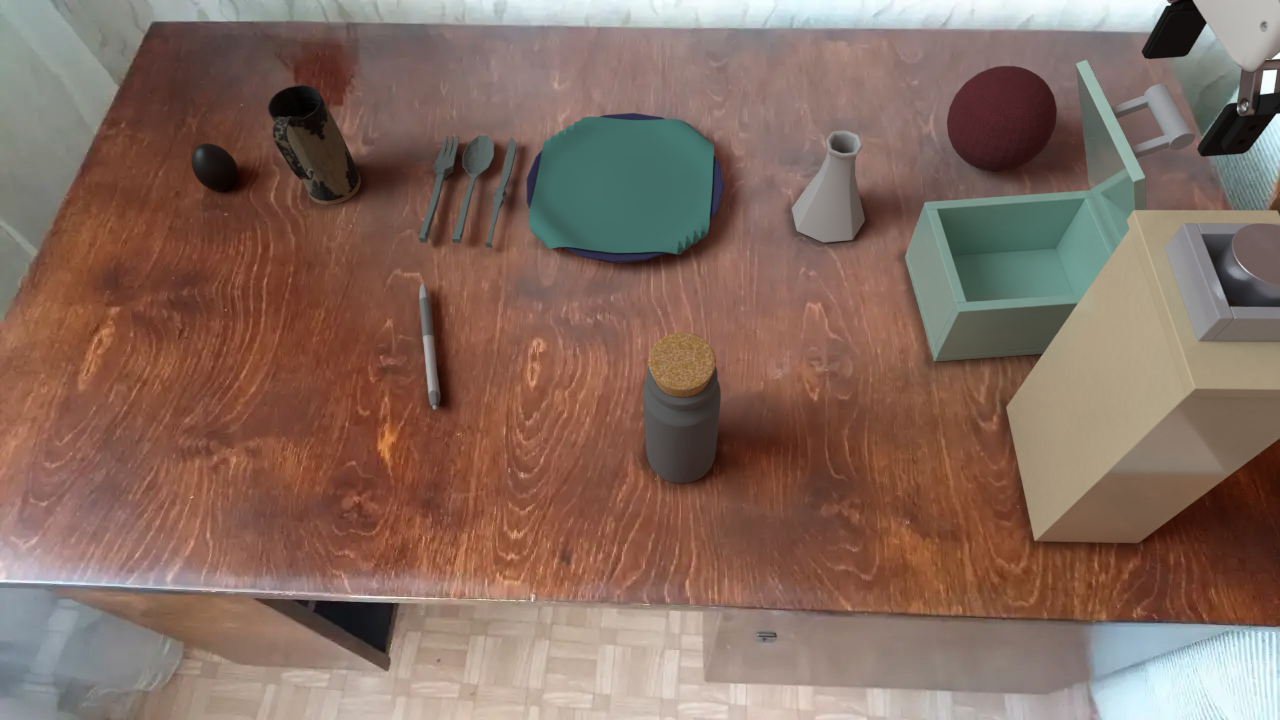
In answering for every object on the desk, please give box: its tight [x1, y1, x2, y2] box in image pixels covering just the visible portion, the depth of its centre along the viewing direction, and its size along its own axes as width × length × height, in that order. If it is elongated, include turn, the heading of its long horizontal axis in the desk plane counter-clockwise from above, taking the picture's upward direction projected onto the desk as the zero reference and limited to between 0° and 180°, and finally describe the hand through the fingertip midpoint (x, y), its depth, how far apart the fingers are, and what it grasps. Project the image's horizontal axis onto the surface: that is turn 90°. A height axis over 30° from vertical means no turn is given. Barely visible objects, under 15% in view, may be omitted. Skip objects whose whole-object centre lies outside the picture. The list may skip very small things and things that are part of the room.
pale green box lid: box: [1075, 59, 1196, 248], centre depth 66 cm, size 16×12×5 cm
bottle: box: [642, 332, 722, 484], centre depth 67 cm, size 6×6×15 cm
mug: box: [267, 84, 362, 206], centre depth 85 cm, size 8×6×12 cm
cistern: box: [1005, 209, 1280, 544], centre depth 59 cm, size 9×13×27 cm
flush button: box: [1212, 223, 1280, 307], centre depth 47 cm, size 4×4×2 cm
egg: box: [191, 142, 239, 192], centre depth 89 cm, size 4×4×5 cm
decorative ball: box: [946, 65, 1058, 172], centre depth 85 cm, size 10×10×10 cm
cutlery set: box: [418, 112, 725, 264], centre depth 87 cm, size 20×30×2 cm, turn 85°
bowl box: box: [904, 189, 1116, 363], centre depth 76 cm, size 15×12×8 cm
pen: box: [418, 282, 441, 412], centre depth 79 cm, size 1×14×1 cm, turn 12°
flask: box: [791, 129, 866, 243], centre depth 82 cm, size 7×7×10 cm
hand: (1190, 101), depth 59 cm, fingers open, 9 cm apart
